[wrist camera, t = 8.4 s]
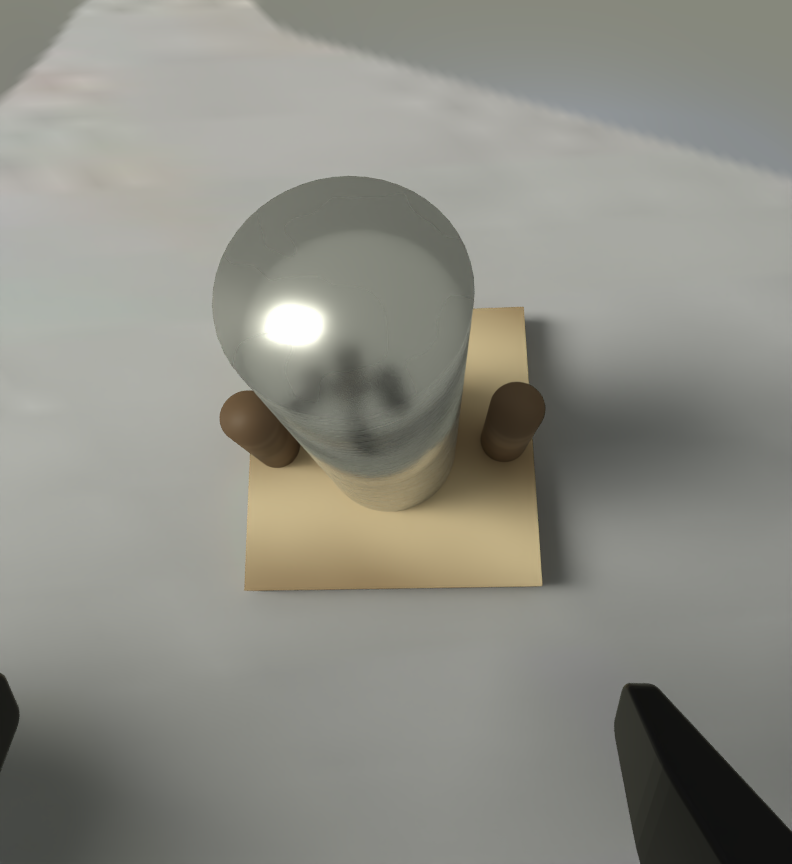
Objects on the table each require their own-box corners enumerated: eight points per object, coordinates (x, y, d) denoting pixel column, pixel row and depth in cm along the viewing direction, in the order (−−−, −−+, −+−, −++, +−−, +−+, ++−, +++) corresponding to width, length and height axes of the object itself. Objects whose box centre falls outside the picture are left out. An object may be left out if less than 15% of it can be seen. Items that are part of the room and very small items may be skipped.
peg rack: (536, 586, 23) (565, 583, 18) (253, 590, 23) (203, 589, 18) (519, 320, 25) (540, 251, 20) (263, 329, 26) (221, 265, 21)
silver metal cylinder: (481, 461, 23) (528, 315, 11) (373, 538, 22) (303, 471, 11) (405, 360, 24) (375, 132, 12) (300, 432, 23) (165, 267, 12)
